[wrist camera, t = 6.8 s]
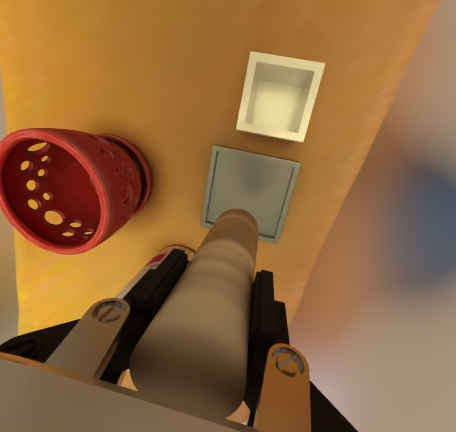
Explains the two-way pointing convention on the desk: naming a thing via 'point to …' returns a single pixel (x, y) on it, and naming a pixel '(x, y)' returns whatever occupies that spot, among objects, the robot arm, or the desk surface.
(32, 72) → the desk surface
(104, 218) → the plant pot
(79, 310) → the desk surface
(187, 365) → the dowel
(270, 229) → the tray
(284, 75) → the white open square box
